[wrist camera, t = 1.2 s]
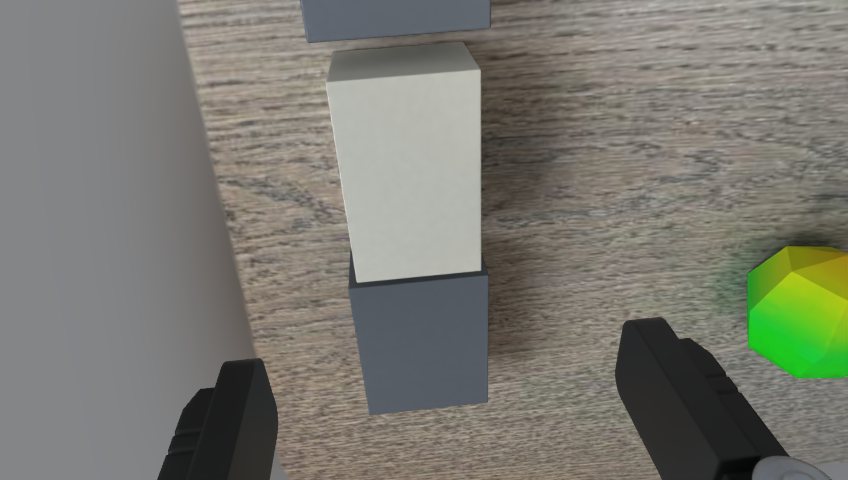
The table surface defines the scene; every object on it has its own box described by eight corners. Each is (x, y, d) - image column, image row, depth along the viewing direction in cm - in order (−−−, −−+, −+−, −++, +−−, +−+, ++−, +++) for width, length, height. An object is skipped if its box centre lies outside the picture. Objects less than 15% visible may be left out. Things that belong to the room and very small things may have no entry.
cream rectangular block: (332, 51, 21) (325, 82, 17) (463, 41, 21) (481, 69, 17) (358, 231, 25) (356, 283, 22) (466, 220, 25) (481, 271, 22)
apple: (856, 436, 24) (979, 272, 19) (706, 369, 27) (779, 213, 22) (860, 348, 29) (959, 200, 24) (733, 300, 32) (798, 159, 27)
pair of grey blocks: (268, -267, 16) (249, -298, 13) (474, -278, 16) (493, -311, 13) (369, 371, 30) (369, 415, 27) (477, 360, 30) (488, 402, 27)
